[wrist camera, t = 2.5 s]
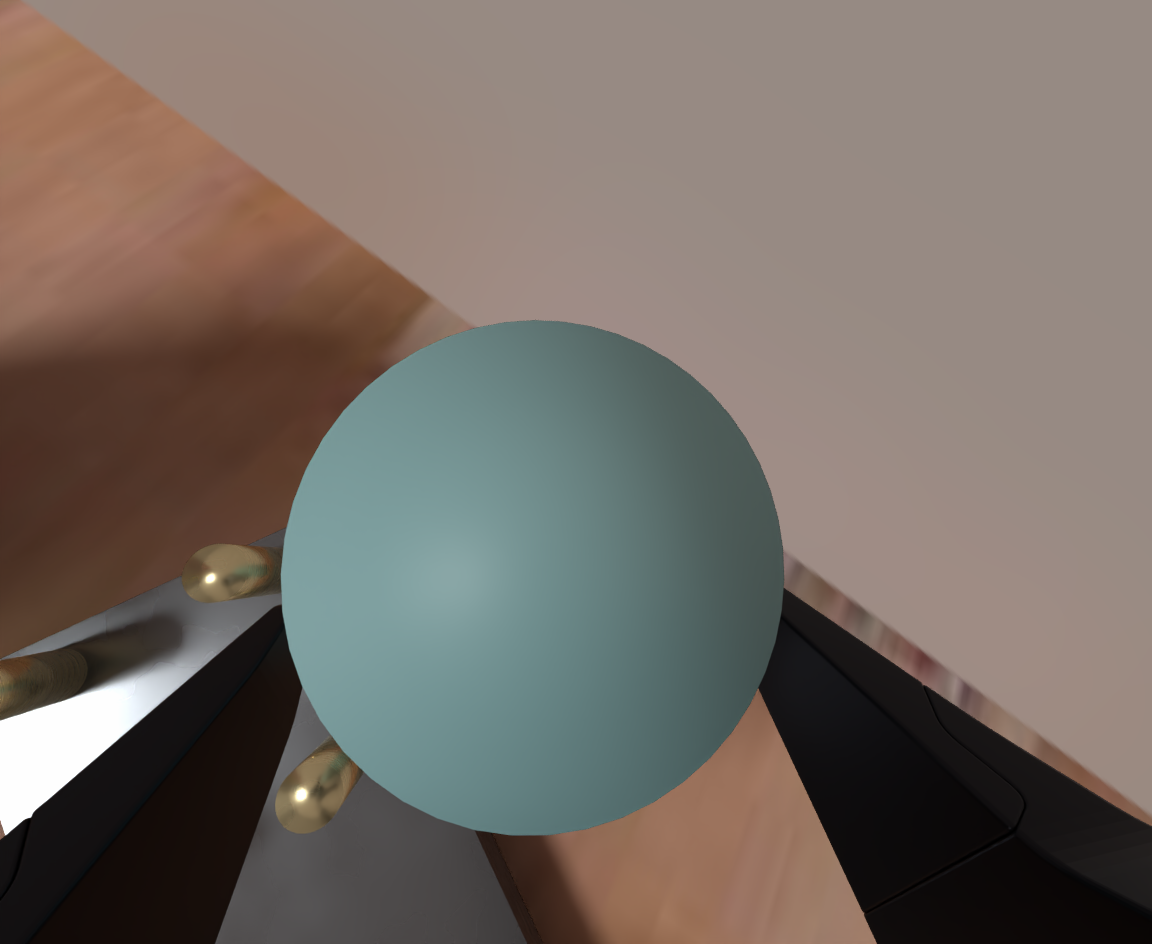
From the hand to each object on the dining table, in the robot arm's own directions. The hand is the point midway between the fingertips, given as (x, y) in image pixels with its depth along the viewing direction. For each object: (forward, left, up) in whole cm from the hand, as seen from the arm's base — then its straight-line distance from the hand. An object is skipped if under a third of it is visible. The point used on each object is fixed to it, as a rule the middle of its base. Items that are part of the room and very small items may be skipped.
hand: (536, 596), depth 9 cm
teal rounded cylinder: (+1, 0, -9) cm, 9 cm away
